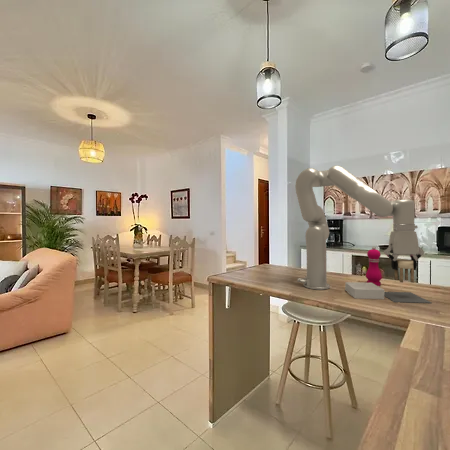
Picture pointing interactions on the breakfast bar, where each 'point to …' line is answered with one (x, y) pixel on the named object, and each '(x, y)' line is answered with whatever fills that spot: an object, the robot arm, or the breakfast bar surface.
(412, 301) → the mat
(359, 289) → the step
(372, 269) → the pepper mill
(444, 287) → the breakfast bar surface
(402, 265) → the stool
